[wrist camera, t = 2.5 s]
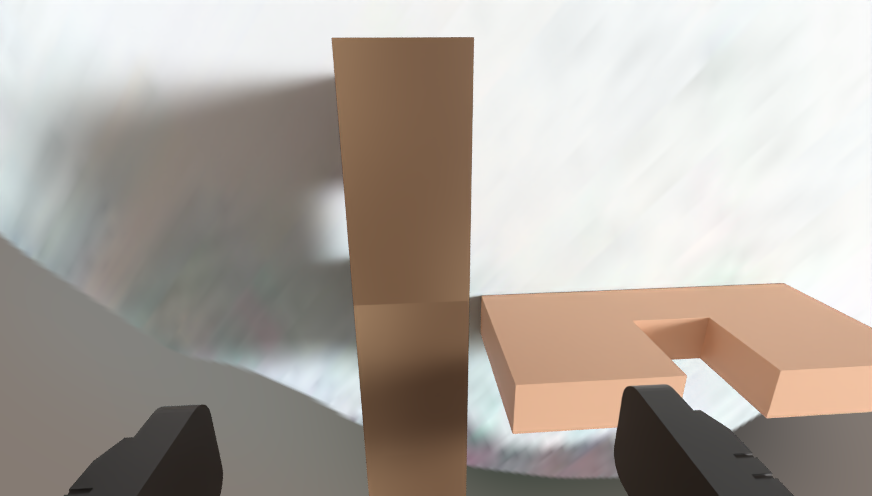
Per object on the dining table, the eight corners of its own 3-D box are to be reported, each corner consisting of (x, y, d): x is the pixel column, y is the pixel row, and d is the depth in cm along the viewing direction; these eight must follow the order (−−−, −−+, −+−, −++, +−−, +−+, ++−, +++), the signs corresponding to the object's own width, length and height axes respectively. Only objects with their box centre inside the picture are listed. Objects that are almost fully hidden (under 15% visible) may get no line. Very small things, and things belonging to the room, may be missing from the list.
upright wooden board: (390, 334, 25) (377, 598, 12) (377, 70, 21) (331, 37, 7) (432, 332, 25) (464, 591, 12) (428, 70, 21) (473, 37, 8)
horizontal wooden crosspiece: (480, 332, 26) (512, 433, 18) (481, 295, 25) (515, 385, 17) (774, 319, 27) (918, 408, 19) (784, 283, 26) (939, 362, 18)
